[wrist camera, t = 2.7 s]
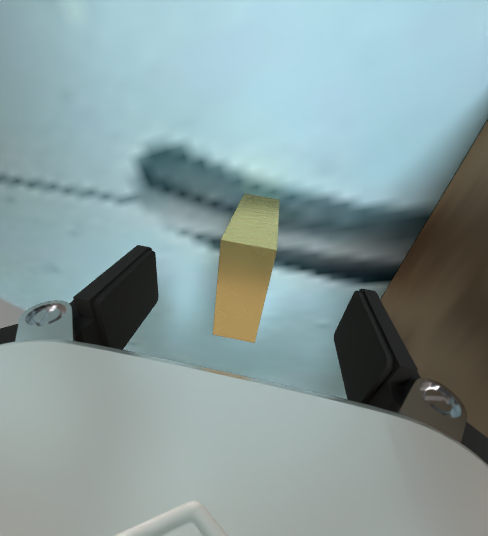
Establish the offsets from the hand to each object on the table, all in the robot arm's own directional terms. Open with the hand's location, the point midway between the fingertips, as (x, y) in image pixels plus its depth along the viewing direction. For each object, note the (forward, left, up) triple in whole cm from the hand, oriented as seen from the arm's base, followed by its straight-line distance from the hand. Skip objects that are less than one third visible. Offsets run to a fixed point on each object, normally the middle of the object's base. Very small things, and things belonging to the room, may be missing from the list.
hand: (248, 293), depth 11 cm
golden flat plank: (-1, 0, -5) cm, 5 cm away
